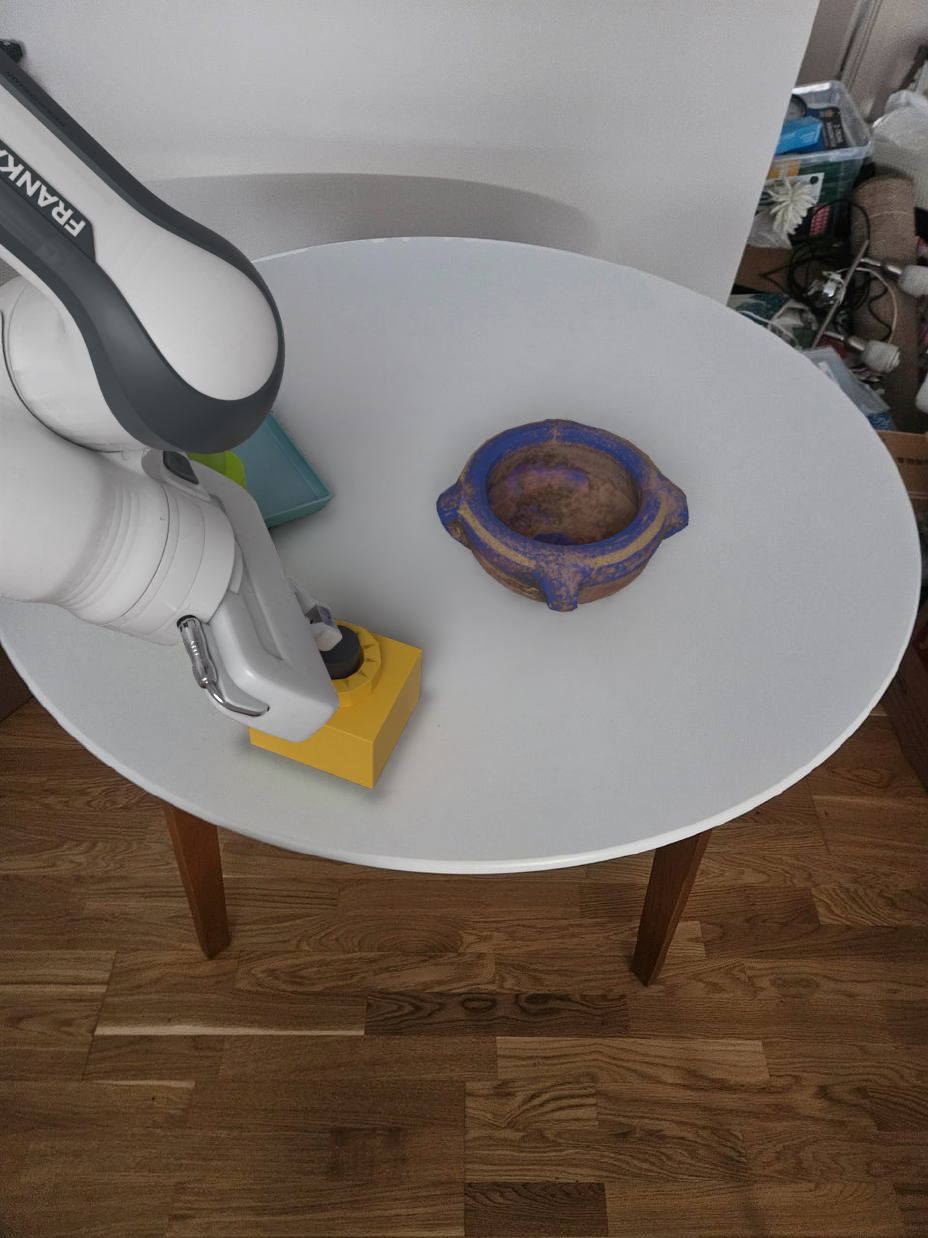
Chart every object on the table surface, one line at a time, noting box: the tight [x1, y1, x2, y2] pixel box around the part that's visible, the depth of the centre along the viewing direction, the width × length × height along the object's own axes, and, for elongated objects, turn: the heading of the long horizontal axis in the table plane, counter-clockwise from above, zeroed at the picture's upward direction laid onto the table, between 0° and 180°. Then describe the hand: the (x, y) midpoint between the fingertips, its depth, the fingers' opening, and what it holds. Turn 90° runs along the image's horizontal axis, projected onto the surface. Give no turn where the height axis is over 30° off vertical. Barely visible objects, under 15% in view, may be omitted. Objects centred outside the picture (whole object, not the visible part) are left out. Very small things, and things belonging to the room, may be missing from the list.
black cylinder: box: [318, 625, 360, 679], centre depth 68 cm, size 4×4×2 cm
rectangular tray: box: [228, 409, 334, 529], centre depth 94 cm, size 26×9×2 cm, turn 31°
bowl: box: [435, 418, 690, 613], centre depth 84 cm, size 18×18×10 cm
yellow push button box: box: [247, 618, 423, 790], centre depth 72 cm, size 10×9×8 cm
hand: (329, 629), depth 67 cm, fingers closed
